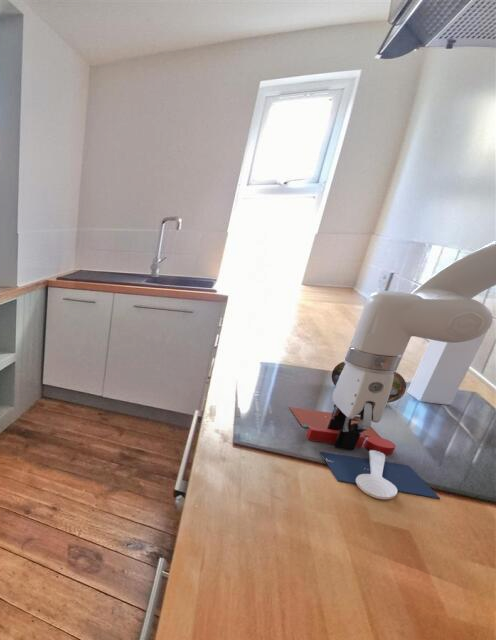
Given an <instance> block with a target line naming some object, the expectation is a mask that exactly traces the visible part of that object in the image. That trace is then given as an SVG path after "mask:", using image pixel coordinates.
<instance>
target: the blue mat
mask: <svg viewBox="0 0 496 640" xmlns="http://www.w3.org/2000/svg"><path fill="white" fill-rule="evenodd" d="M319 452H320V453H319ZM318 453H319V455H320V454H321V455H322V456H323V457H324V458H325V459H326V458H327V459H328V460H331V461H334V462H332V463H331V462H325V464H326V463H327V464H326V465H327V467H328V468H329V470H330V471H331V473H332V474H333V476H334V477H335V479H336V480H337V482H340V483H347V484H352V485H357V484H356V478H357V476H358V475H360V474H371V471H370V463H369V458H364V457H358V456H352V455H347V454H346V455H345V454H339V453H333V452H327V451H320V450H319V451H318ZM321 455H320V456H321ZM322 456H321V457H322ZM364 468H366V469H365V470H364ZM383 468H384V469H383V473H382V477H383V478H384V479H386V480H388V481H390V482H391V483H392V484H394V485H395V486H396V488H397V493H402V494H408V495H415V496H420V497H426V498H432V499H436V500H437V499H438V500H440V499H441V497H440V496H439V495H438V494H437V493H436V492H435V491H434V490H433V489H432V487H430V486H429V485H428V484H427V482H425V481H424V479H422V478H421V476H419V474H418V473H417V472H416V471H415V470H413V469H412V467H411V466H410V465H408V464H402V463H395V462H390V461H385V462H384V467H383ZM367 469H369V470H367ZM398 476H399V477H398Z"/></svg>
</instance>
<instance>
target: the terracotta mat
mask: <svg viewBox="0 0 496 640" xmlns="http://www.w3.org/2000/svg"><path fill="white" fill-rule="evenodd" d="M289 410H290V411H291V413H292V412H293V413H292V415H293V416H294V415H295V416H294V417H295V419H296V418H297V419H298V420H297V419H296V420H297V421H299V422H300V423H299V422H298V423H299V425H300V424H303V425H304V424H306V425H307V424H309V425H311V426H309V427H317V428H324V429H327V427H328V425H329V422H330V420H331V418H332V417H331V414H332V412H329V411H320V410H313V409H306V408H299V407H291V406H289ZM325 416H326V417H325ZM355 417H360V415H355ZM333 419H334V418H333ZM353 423H359V421H353V420H352V421H351V424H353ZM306 427H307V426H306ZM362 435H363V436H364V437H365V438H367V437H370V436H373V437H380V438H382V436H381V435H380V434H379V433H378V432H377V431H376V430H375V429H374V428H373V427H372V426H371V429H369V430H365V431H363V433H362Z"/></svg>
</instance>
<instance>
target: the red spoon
mask: <svg viewBox="0 0 496 640" xmlns="http://www.w3.org/2000/svg"><path fill="white" fill-rule="evenodd" d="M338 433H339V431H337V430H331V429H324V428H317V427H309V428H307V432H306V435H305V437H306V436H307V437H306V439H307V438H308V439H307V440H308V441H313V440H314V442H321V443H326V444H333V445H334V443H335V441H336V438H337V436H338ZM380 437H381V436H380ZM380 437H373V436H370V437H366V436H363V435H362V434H360V437H359V439H358V442H357V444H356V446H355V448H359V449H361V448H362V447H364V448H365V449H366V450H368V449H369V451H370V450H376V451H379V452H381V453H382V452H383V454H385V456H387V455H388V456H390V455H392V454H394V451H395V449H396V447H397V445H396V444H395V442H392V441H391V440H389V439H386V438H384V437H381V438H380Z"/></svg>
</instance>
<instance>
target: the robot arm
mask: <svg viewBox="0 0 496 640" xmlns="http://www.w3.org/2000/svg"><path fill="white" fill-rule="evenodd" d="M494 286H496V240H494V241H492V242H490V243H489V244H486V245H484V246H482V247H480V248H479V249H476V250H474V251H472V252H470V253H468V254H466V255H464V256H462V257H460V258H458V259H456V260H455V261H453V262H451V263H450V264H448V265H447V266H445V267H443V268H442V269H440V270H439V271H437V272H436V273H434V274H433V275H432V276H430V277H429V278H428V279H426V281H424V282H423V283H422V284H420V285H419V286H418V287H417V288H416V289H414V290H413V291H412V292H411V293H410V292H404V291H395V290H393V291H392V290H381V291H376V292H373V293H371V294H370V295H368V297H367V299H366V301H365V303H364V306H363V309H362V312H361V314H360V317H359V319H358V322H357V324H356V328H355V330H354V333H353V335H352V338H351V341H350V344H349V346H348V350H347V352H346V355H345V358H344V361H343V362H344V363H345V366H344V368H343V370H342V372H341V374H340V377H339V379H338V381H337V384H336V386H335V385H334V389H333V392H332V395H331V400H332V402H333V403H334V404H333V410H332V412H331V413H332V414H331V417H332V418H331V420H330V422H329V425H328V427H327V429H331V430H337V431H339V433H338V436H337V438H336V441H335V443H334V444H333V447H334V448H336V449H340V450H347V451H353V450H355V448H356V447H355V446H356V444H357V442H358V439H359V437H360V434H362V433H363V431H365V430H369V429H371V427H372V423H379V422H380V421H381V419H382V418H383V415H384V412H385V410H386V407H387V404H388V403H387V401H388V398H389V395H390V392H391V388H392V384H393V378H394V374H393V373H394V372H397V370H398V368H399V365H400V363H401V360H402V358H403V356H404V354H405V351H406V349H407V347H408V345H409V342H410V340H411V337H412V338H413V337H416V338H420V339H426V340H429V341H430V340H435V341H440V342H448V343H459V342H466V341H470V340H473V339H475V338H478V337H480V336H481V335H483V334H484V333H485V332H487V333H488V332H489V330H490V328H491V327H492V325H493V321H494V320H493V319H494V318H493V317H494V316H493V313H492V311H491V310H490V309H489V307H487V306H486V304H484V303H482V302H480V301H479V300H475V299H473V298H475V297H477V296H478V295H479V294H481V293H483V292H485V291H486V290H489V289H491V288H492V287H494ZM355 416H359V417H355ZM333 418H334V419H333ZM352 420H353V421H359V423H353V424H351V421H352Z"/></svg>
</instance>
